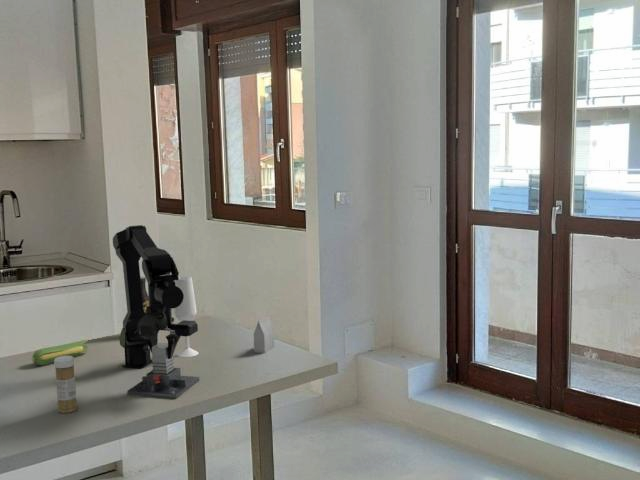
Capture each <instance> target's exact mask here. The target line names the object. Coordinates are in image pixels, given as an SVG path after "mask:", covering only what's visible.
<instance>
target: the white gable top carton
mask: <svg viewBox="0 0 640 480" xmlns="http://www.w3.org/2000/svg"><path fill="white" fill-rule="evenodd" d="M274 348H275V329H274V326H273V324H272V322H271V319H270V317H269V316H264V318H261V319H259V320H258V321H257V324H256V326H255V329H254V331H253V352H254V353H261V354H266V353H268V352H269V351H271V350H273V349H274Z"/></svg>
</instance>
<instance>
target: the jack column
mask: <svg viewBox="0 0 640 480" xmlns="http://www.w3.org/2000/svg"><path fill="white" fill-rule="evenodd" d="M151 360H152V362H151V363H152V370H153V374H163V375H168V374H170V373H171V372H172V371H174V368H175V365H174V355H173V356H172V358H171V359H169V357H168V342H167V343H165V342H158V344H156V345H155V346H153V347H152V353H151Z"/></svg>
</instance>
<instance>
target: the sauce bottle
mask: <svg viewBox="0 0 640 480" xmlns="http://www.w3.org/2000/svg"><path fill="white" fill-rule="evenodd" d="M140 278H141V288H142V298H143V309H144V312H145V313H146V309H147V306H149V296H148V292H147V291H148V290H147V288H146V282H147V280H146V277H145V276H140Z"/></svg>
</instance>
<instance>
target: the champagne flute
mask: <svg viewBox="0 0 640 480" xmlns="http://www.w3.org/2000/svg"><path fill="white" fill-rule="evenodd" d="M178 278H179V280H175V284H176V286H177V287H179V288H180V289H181V290H182V292H183V295H184V298H183V301H182V303H181V304H180V305H179V306H178V307H176V308H174V315H175V317H176V318H177V320H178V321H179V322H181V321H183V320H186V321H194V318H195V317H196V315H197V312H198V311H197V310H198V309H197V303H196V295H195V291H194V282H193V277H192V276H189V275H187V276H185V275H184V276H178ZM184 341H185V342H184V343H185V344H184V345H185V347H184V349H183V348H182V350H180V351H178V352H177V354H176V356H177V357H180V358H190V357H195V356H198V355H199V352H198V351H197V350H195V349H193V348H191V347H190V336H184Z"/></svg>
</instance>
